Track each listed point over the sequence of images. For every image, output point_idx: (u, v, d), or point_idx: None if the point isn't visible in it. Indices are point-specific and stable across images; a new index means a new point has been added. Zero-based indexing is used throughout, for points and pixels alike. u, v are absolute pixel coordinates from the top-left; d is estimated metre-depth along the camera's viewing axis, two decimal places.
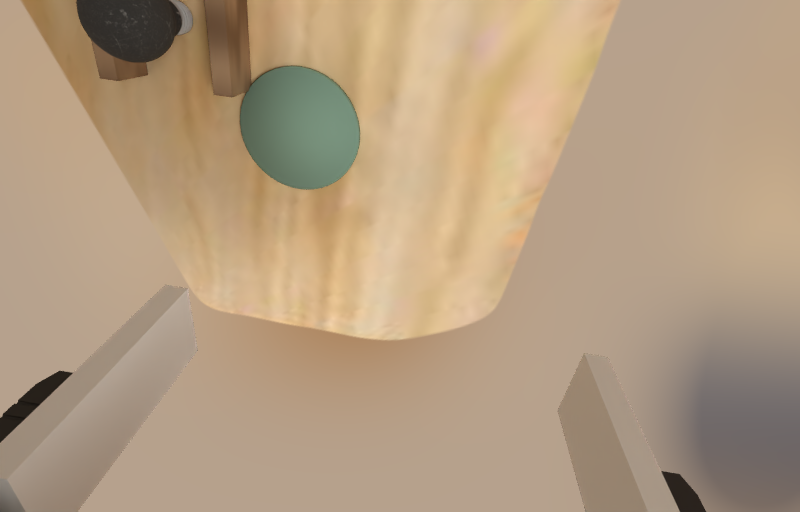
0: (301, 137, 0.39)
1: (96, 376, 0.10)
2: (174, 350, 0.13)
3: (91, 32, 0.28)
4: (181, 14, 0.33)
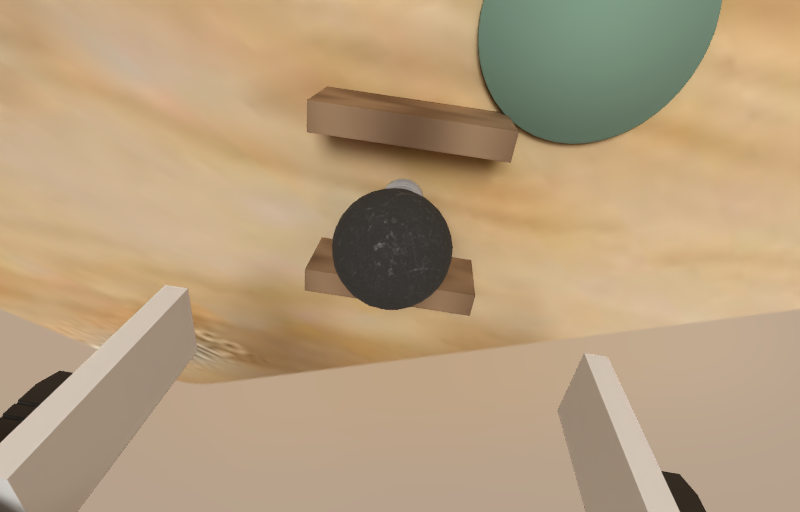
0: (606, 27, 0.20)
1: (96, 376, 0.10)
2: (174, 350, 0.13)
3: (404, 300, 0.18)
4: (397, 188, 0.23)
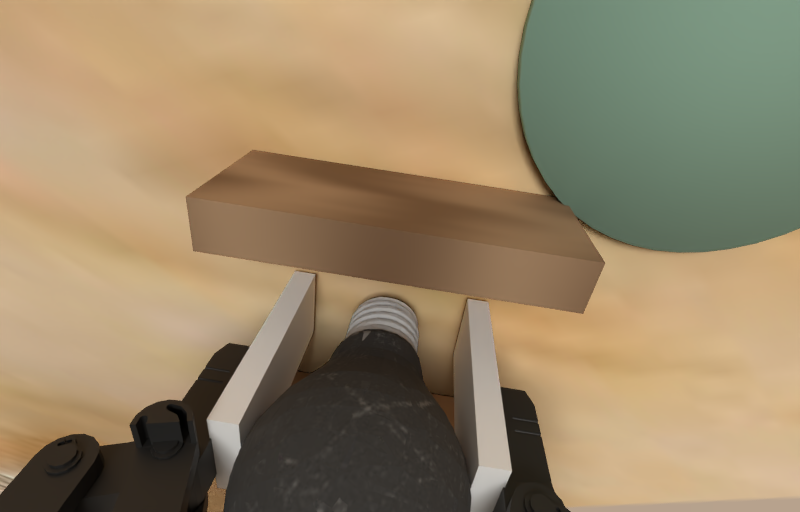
0: (773, 53, 0.10)
1: (271, 346, 0.12)
2: (305, 329, 0.15)
3: None
4: (372, 325, 0.13)
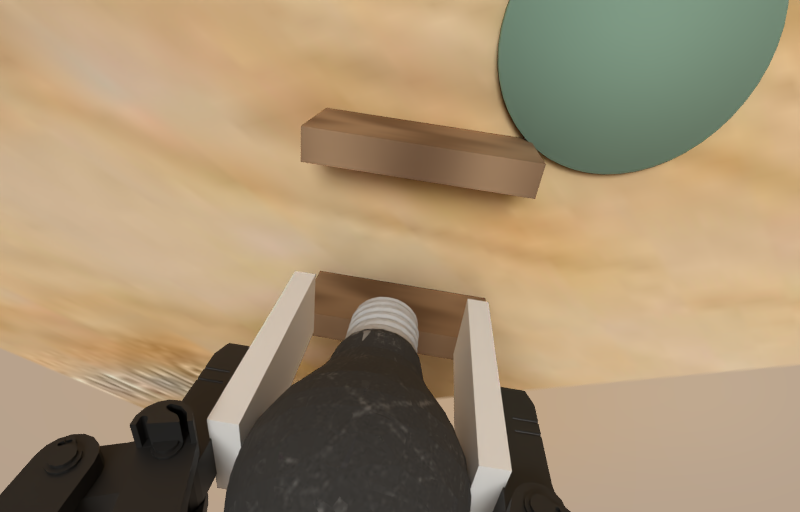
0: (647, 43, 0.17)
1: (271, 346, 0.12)
2: (305, 329, 0.15)
3: None
4: (372, 325, 0.13)
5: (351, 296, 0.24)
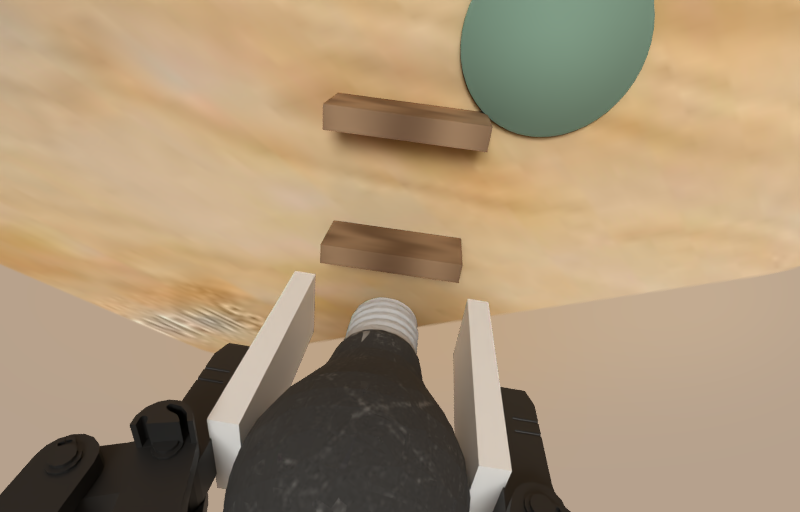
0: (563, 41, 0.25)
1: (271, 346, 0.12)
2: (305, 329, 0.15)
3: None
4: (372, 326, 0.13)
5: (359, 236, 0.31)
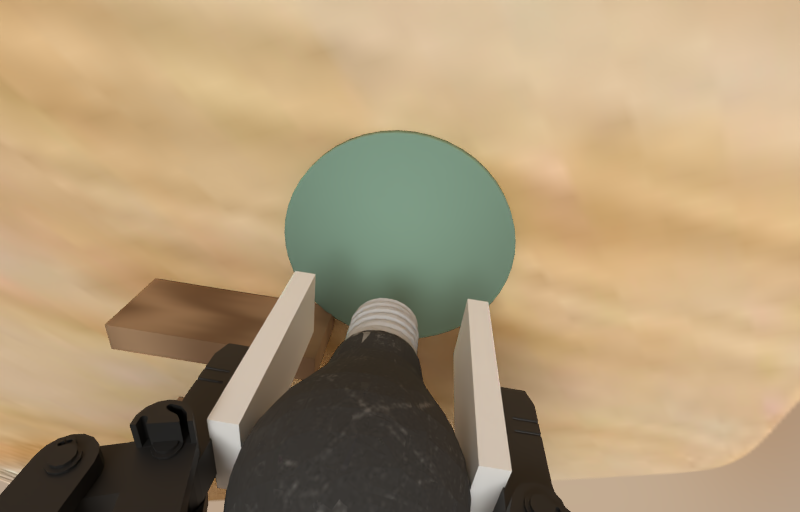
0: (408, 248, 0.20)
1: (272, 346, 0.12)
2: (305, 329, 0.15)
3: None
4: (372, 326, 0.13)
5: None
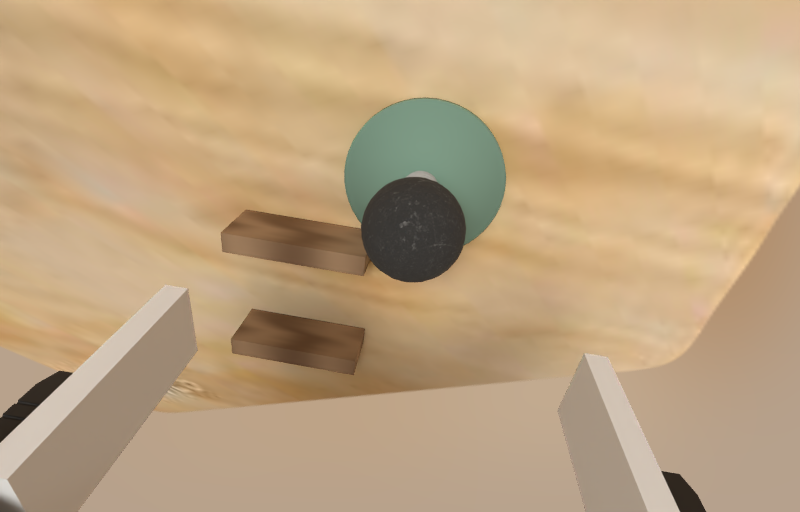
0: None
1: (96, 376, 0.10)
2: (174, 350, 0.13)
3: (425, 272, 0.21)
4: None
5: (269, 328, 0.35)
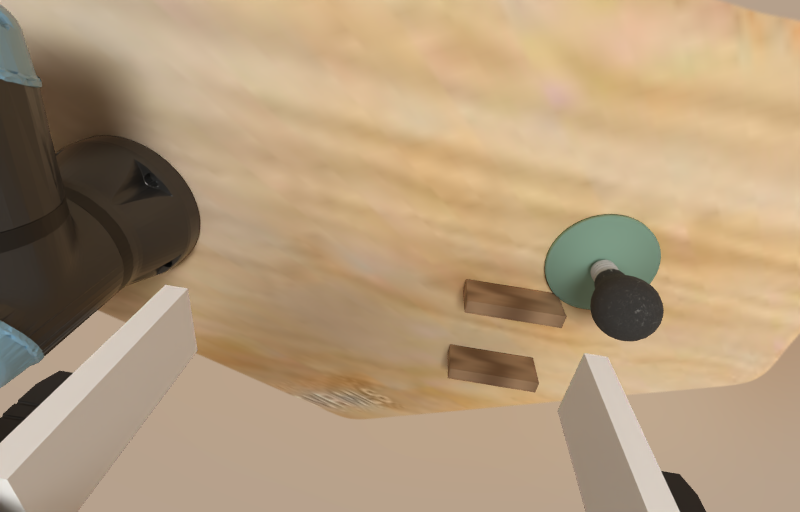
0: None
1: (96, 376, 0.10)
2: (174, 350, 0.13)
3: (642, 337, 0.35)
4: (609, 268, 0.40)
5: (470, 359, 0.49)
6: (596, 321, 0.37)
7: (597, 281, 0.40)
